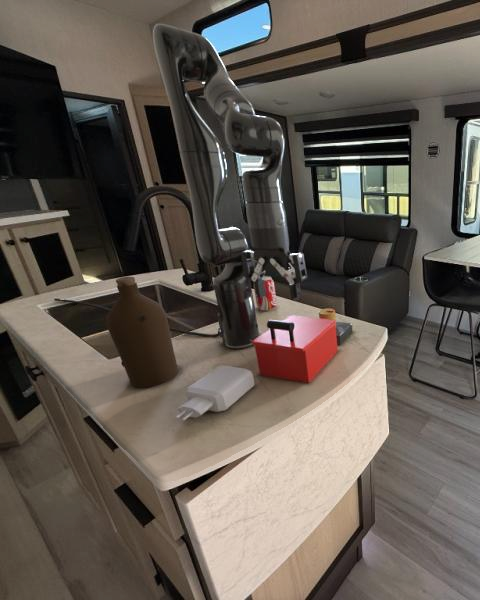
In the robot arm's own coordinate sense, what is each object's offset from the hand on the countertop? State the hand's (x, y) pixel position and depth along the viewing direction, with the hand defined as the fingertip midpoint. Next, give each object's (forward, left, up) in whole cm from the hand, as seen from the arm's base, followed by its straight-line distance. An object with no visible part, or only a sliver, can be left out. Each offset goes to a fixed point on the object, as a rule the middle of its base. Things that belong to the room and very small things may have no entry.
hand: (278, 297), depth 71 cm
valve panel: (0, +22, -20) cm, 30 cm away
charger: (-9, -14, -20) cm, 27 cm away
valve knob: (0, +22, -17) cm, 28 cm away
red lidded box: (0, +6, -20) cm, 21 cm away
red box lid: (0, +5, -11) cm, 13 cm away
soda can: (-33, +37, -20) cm, 54 cm away
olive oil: (-31, -9, -20) cm, 38 cm away
